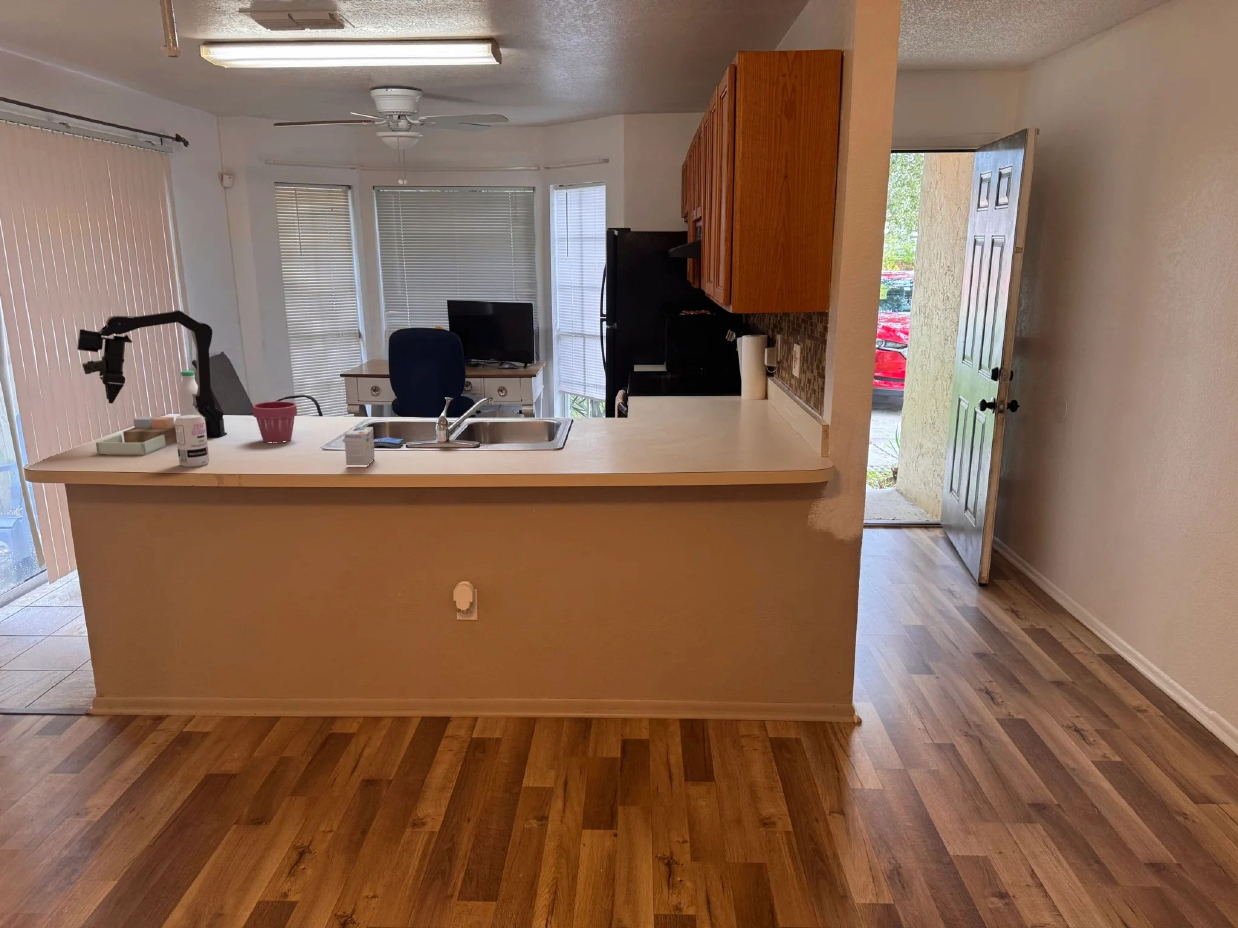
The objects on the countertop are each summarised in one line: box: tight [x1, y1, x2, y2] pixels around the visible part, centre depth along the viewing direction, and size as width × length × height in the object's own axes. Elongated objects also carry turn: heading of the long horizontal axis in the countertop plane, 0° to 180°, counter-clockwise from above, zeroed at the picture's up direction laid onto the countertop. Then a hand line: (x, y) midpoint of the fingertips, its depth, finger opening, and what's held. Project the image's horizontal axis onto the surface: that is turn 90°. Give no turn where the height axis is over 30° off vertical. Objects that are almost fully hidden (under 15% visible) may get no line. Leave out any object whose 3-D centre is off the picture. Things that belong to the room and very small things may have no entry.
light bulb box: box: [344, 426, 375, 466], centre depth 261 cm, size 11×7×11 cm, turn 4°
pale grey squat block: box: [133, 416, 157, 428], centre depth 288 cm, size 5×5×3 cm
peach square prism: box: [151, 416, 175, 428], centre depth 288 cm, size 5×5×3 cm
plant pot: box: [252, 400, 298, 444], centre depth 291 cm, size 14×14×13 cm
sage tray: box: [95, 434, 167, 457], centre depth 275 cm, size 15×13×4 cm
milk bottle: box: [178, 370, 204, 418], centre depth 318 cm, size 8×8×20 cm
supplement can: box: [174, 414, 210, 468], centre depth 257 cm, size 8×8×15 cm
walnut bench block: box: [122, 426, 177, 447], centre depth 287 cm, size 13×12×5 cm
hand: (109, 401), depth 278 cm, fingers open, 9 cm apart
